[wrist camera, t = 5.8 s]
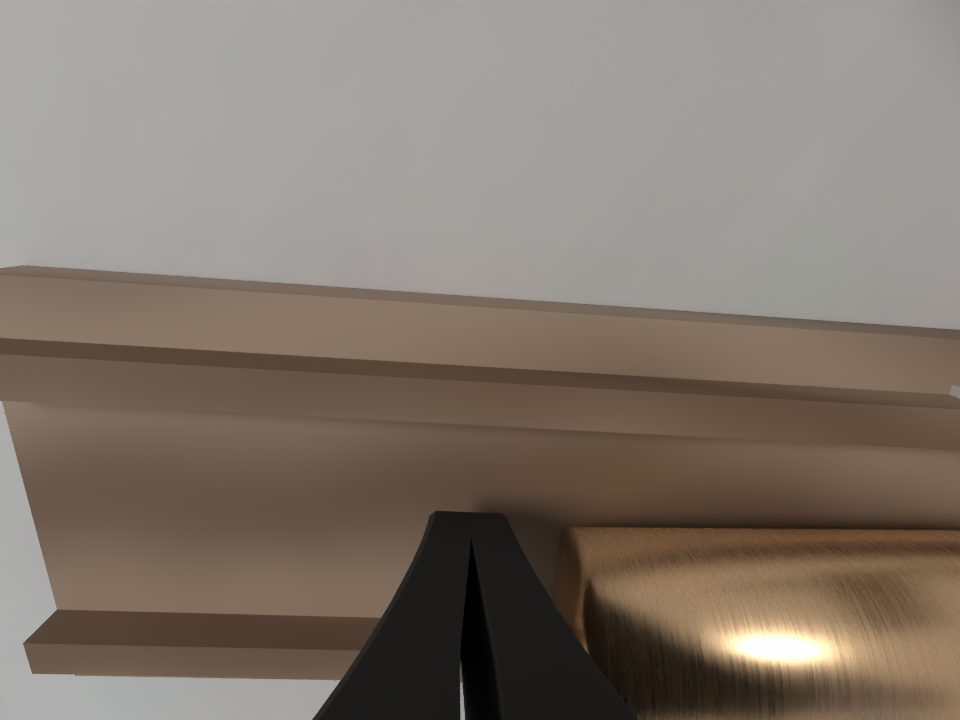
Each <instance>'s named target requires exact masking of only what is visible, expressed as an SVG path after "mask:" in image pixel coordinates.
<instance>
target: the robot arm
mask: <svg viewBox="0 0 960 720" xmlns="http://www.w3.org/2000/svg"><path fill="white" fill-rule="evenodd" d="M460 664H461V667H462V681H463V694H464V708H465V720H639V719H638V718H637V716H636V715H635V714H634V713H633V711H632V710H631V709H630V708H629V707H628V705H627V704H626V703H625V702H624V700H623V699H622V698H621V697H620V695H619V694H618V693H617V692H616V690H615V689H614V688H613V686H612V685H611V684H610V682H609V681H608V680H607V679H606V677H605V676H604V675H603V673H602V672H601V671H600V669H599V668H598V667H597V665H596V664H595V662H594V661H593V660H592V658H591V657H590V656H589V654H588V653H587V651H586V650H585V649H584V647H583V646H582V644H581V643H580V641H579V640H578V639H577V637H576V636H575V634H574V633H573V632H572V630H571V629H570V627H569V626H568V624H567V623H566V621H565V620H564V618H563V617H562V615H561V614H560V612H559V610H558V609H557V607H556V606H555V604H554V603H553V601H552V599H551V598H550V596H549V595H548V593H547V591H546V590H545V588H544V587H543V585H542V583H541V582H540V580H539V578H538V577H537V575H536V573H535V572H534V570H533V568H532V566H531V565H530V563H529V561H528V559H527V557H526V556H525V554H524V552H523V550H522V548H521V546H520V545H519V543H518V541H517V539H516V537H515V535H514V533H513V531H512V528H511V526H510V524H509V522H508V520H507V518H506V517H505V516H504V515H503V514H502V513H482V512H457V511H435V512H434V513H432V514H431V515H430V516H429V519H428V524H427V527H426V530H425V533H424V535H423V538H422V540H421V543H420V545H419V548H418V550H417V552H416V554H415V556H414V558H413V560H412V563H411V565H410V567H409V569H408V570H407V572H406V574H405V576H404V578H403V580H402V582H401V584H400V586H399V587H398V589H397V591H396V593H395V595H394V597H393V599H392V600H391V602H390V604H389V606H388V607H387V609H386V611H385V612H384V614H383V616H382V617H381V619H380V620H379V622H378V624H377V625H376V627H375V629H374V630H373V632H372V633H371V635H370V637H369V638H368V640H367V642H366V643H365V645H364V646H363V648H362V650H361V651H360V653H359V654H358V656H357V657H356V659H355V660H354V662H353V663H352V665H351V666H350V668H349V669H348V671H347V672H346V674H345V675H344V676H343V678H342V679H341V681H340V682H339V684H338V685H337V687H336V688H335V689H334V691H333V692H332V693H331V695H330V696H329V698H328V699H327V700H326V702H325V703H324V705H323V706H322V707H321V709H320V710H319V711H318V713H317V714H316V716H315V717H314V718H313V720H460Z"/></svg>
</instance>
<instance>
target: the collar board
mask: <svg viewBox="0 0 960 720" xmlns="http://www.w3.org/2000/svg"><path fill="white" fill-rule="evenodd" d="M0 401H2V403H3V407H4V410H5V414H6V418H7V422H8V425H9V429H10V433H11V437H12V441H13V444H14V448H15V452H16V456H17V459H18V463H19V467H20V471H21V474H22V478H23V482H24V486H25V490H26V493H27V497H28V501H29V505H30V508H31V512H32V516H33V520H34V524H35V527H36V531H37V535H38V539H39V542H40V546H41V550H42V554H43V558H44V561H45V565H46V569H47V573H48V576H49V580H50V584H51V588H52V591H53V595H54V599H55V603H56V607H57V610H56V611H55V612H54V613H53V614H52V615H51V616H50V617H49V618H48V619H47V620H46V621H45V622H44V623H43V624H42V625H41V626H40V627H39V628H38V629H37V630H36V631H35V632H34V633H33V634H32V635H31V636H30V637H29V638H28V639H27V640H26V641H25V642H24V643H23V645H24V648H25V651H26V655H27V658H28V661H29V664H30V668H31V671H32V674H75V676H132V677H190V678H249V679H308V680H341V679H342V678H343V676H344V675H345V674H346V672H347V671H348V669H349V668H350V666H351V665H352V663H353V662H354V660H355V659H356V657H357V656H358V654H359V653H360V651H361V650H362V648H363V646H364V645H365V643H366V642H367V640H368V638H369V637H370V635H371V633H372V632H373V630H374V629H375V627H376V625H377V624H378V622H379V620H380V619H381V617H382V616H383V614H384V612H385V611H386V609H387V607H388V606H389V604H390V602H391V600H392V599H393V597H394V595H395V593H396V591H397V589H398V587H399V586H400V584H401V582H402V580H403V578H404V576H405V574H406V572H407V570H408V569H409V567H410V565H411V563H412V560H413V558H414V556H415V554H416V552H417V550H418V548H419V545H420V543H421V540H422V538H423V535H424V533H425V530H426V527H427V524H428V519H429V516H430V515H431V514H432V513H434V512H435V511H457V512H482V513H502V514H503V515H504V516H505V517H506V518H507V520H508V522H509V524H510V526H511V528H512V531H513V533H514V535H515V537H516V539H517V541H518V543H519V545H520V546H521V548H522V550H523V552H524V554H525V556H526V557H527V559H528V561H529V563H530V565H531V566H532V568H533V570H534V572H535V573H536V575H537V577H538V578H539V580H540V582H541V583H542V585H543V587H544V588H545V590H546V591H547V593H548V595H549V596H550V598H551V599H552V601H553V603H554V604H555V569H556V558H557V551H558V546H559V541H560V538H561V535H562V533H563V531H564V530H565V529H566V528H567V527H631V528H748V529H865V530H960V330H951V329H936V328H922V327H907V326H893V325H878V324H864V323H849V322H835V321H820V320H806V319H791V318H777V317H762V316H748V315H733V314H719V313H704V312H690V311H675V310H661V309H646V308H632V307H617V306H603V305H588V304H574V303H559V302H545V301H530V300H516V299H501V298H487V297H473V296H458V295H444V294H429V293H415V292H400V291H386V290H371V289H357V288H342V287H328V286H313V285H299V284H284V283H270V282H255V281H241V280H226V279H212V278H197V277H183V276H168V275H154V274H139V273H125V272H110V271H96V270H81V269H67V268H52V267H38V266H15V267H7V268H0ZM460 682H463V681H462V667H461V664H460Z"/></svg>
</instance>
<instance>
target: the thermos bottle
mask: <svg viewBox="0 0 960 720" xmlns="http://www.w3.org/2000/svg"><path fill="white" fill-rule="evenodd" d="M555 606H556V607H557V609H558V610H559V612H560V614H561V615H562V617H563V618H564V620H565V621H566V623H567V624H568V626H569V627H570V629H571V630H572V632H573V633H574V634H575V636H576V637H577V639H578V640H579V641H580V643H581V644H582V646H583V647H584V649H585V650H586V651H587V653H588V654H589V656H590V657H591V658H592V660H593V661H594V662H595V664H596V665H597V667H598V668H599V669H600V671H601V672H602V673H603V675H604V676H605V677H606V679H607V680H608V681H609V682H610V684H611V685H612V686H613V688H614V689H615V690H616V692H617V693H618V694H619V695H620V697H621V698H622V699H623V700H624V702H625V703H626V704H627V705H628V707H629V708H630V709H631V710H632V711H633V713H634V714H635V715H636V716H637V718H638V719H639V720H960V530H865V529H748V528H631V527H567V528H566V529H565V530H564V531H563V533H562V535H561V538H560V541H559V546H558V551H557V558H556V569H555Z"/></svg>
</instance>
